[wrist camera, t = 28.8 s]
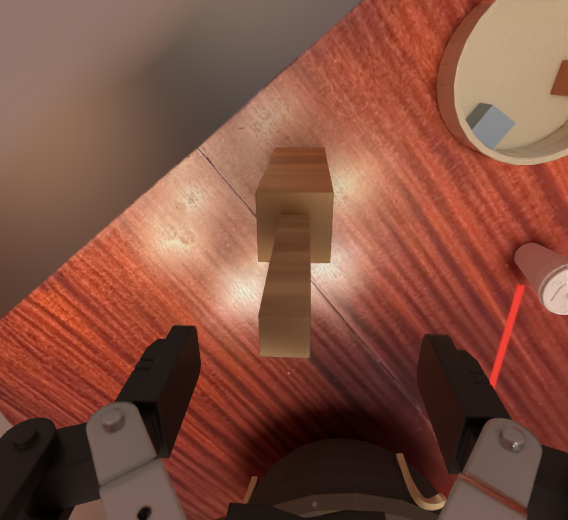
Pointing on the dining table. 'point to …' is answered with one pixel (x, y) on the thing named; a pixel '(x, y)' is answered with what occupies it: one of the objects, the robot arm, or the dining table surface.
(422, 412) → the dining table surface
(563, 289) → the smoothie
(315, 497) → the bowl
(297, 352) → the wooden square bar
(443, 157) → the dining table surface
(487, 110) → the bluegrey block
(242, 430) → the dining table surface
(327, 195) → the oak stand
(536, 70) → the round beige tray
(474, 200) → the dining table surface
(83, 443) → the robot arm
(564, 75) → the terracotta block
